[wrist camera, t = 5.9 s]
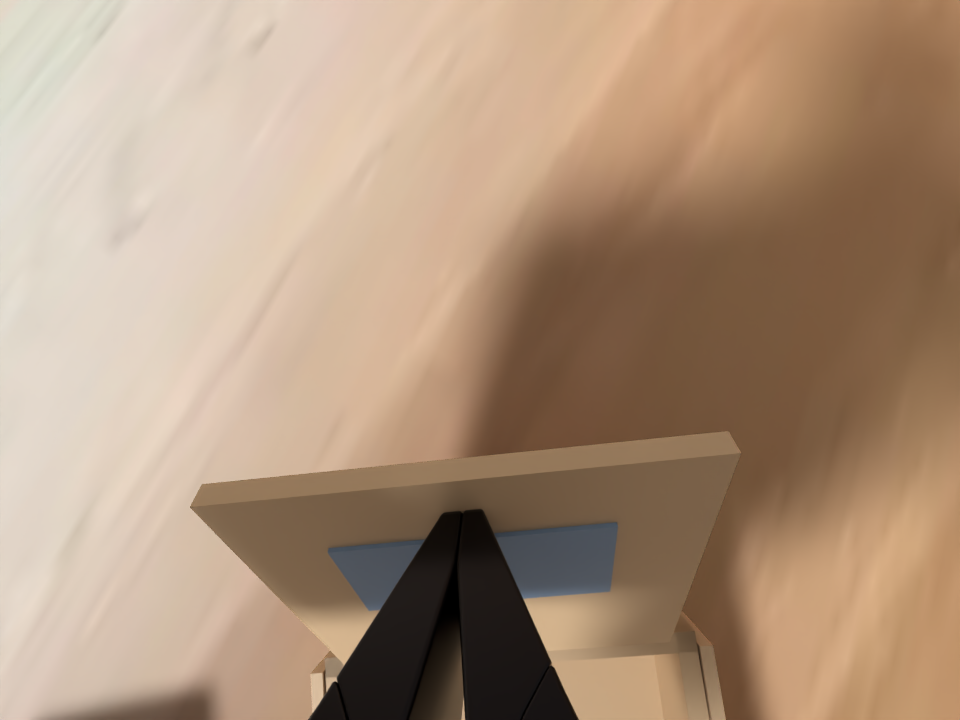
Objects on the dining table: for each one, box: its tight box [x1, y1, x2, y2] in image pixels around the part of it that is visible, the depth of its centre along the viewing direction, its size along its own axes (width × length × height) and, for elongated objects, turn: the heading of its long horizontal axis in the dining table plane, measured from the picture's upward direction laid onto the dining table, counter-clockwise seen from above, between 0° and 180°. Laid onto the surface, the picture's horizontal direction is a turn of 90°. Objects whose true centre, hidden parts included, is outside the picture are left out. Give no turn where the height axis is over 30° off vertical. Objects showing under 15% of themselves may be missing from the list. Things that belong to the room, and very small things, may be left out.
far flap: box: [190, 431, 741, 665], centre depth 11 cm, size 1×10×9 cm
